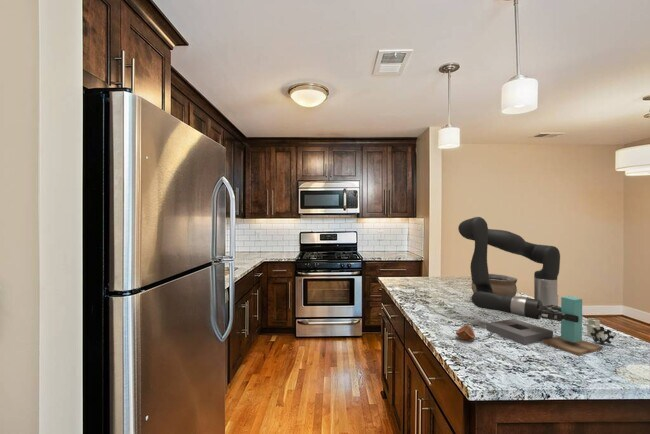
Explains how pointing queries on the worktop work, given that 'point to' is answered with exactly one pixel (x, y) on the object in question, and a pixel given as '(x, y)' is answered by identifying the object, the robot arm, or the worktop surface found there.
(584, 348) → the board
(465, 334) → the fruit slice
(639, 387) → the worktop surface
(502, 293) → the ceramic bowl
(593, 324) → the valve
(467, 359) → the worktop surface
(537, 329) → the grey square socket plate
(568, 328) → the plug
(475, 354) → the worktop surface
